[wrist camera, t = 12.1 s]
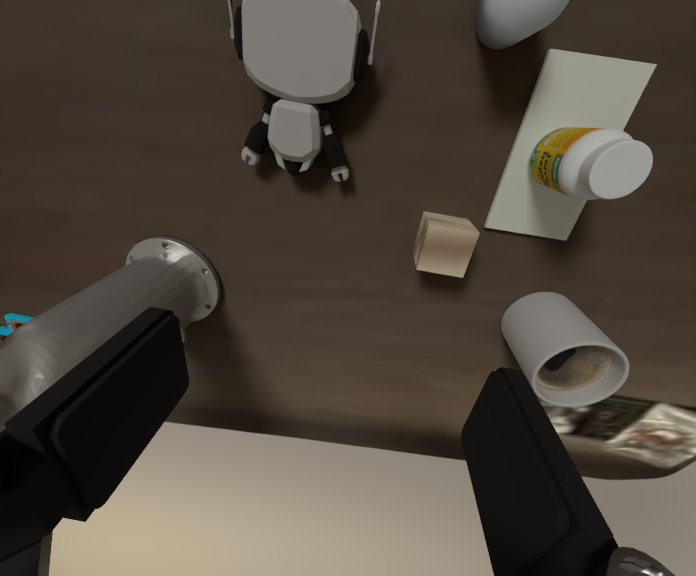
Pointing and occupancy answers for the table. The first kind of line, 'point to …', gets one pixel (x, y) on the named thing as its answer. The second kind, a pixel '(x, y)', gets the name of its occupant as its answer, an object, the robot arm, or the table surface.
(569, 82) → the sage mat
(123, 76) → the table surface
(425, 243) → the birch block
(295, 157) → the robot toy
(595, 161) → the supplement bottle
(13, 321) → the gear mechanism
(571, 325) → the mug
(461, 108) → the table surface
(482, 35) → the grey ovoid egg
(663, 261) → the table surface
